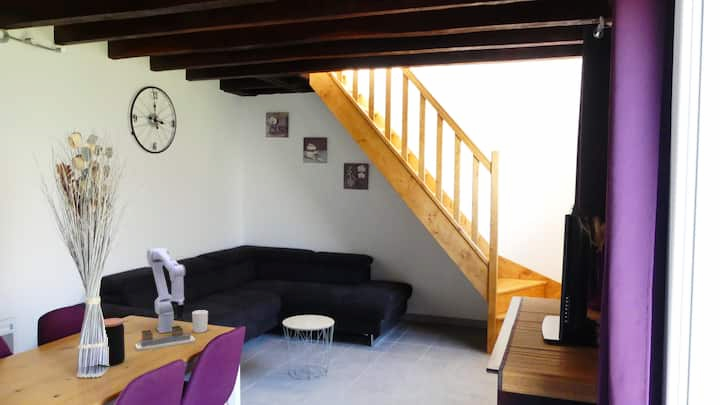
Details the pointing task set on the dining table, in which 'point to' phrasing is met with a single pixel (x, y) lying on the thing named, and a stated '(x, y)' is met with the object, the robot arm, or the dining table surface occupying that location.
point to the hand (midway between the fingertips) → (178, 316)
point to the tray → (139, 348)
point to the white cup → (200, 321)
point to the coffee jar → (115, 340)
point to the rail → (165, 340)
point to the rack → (149, 335)
